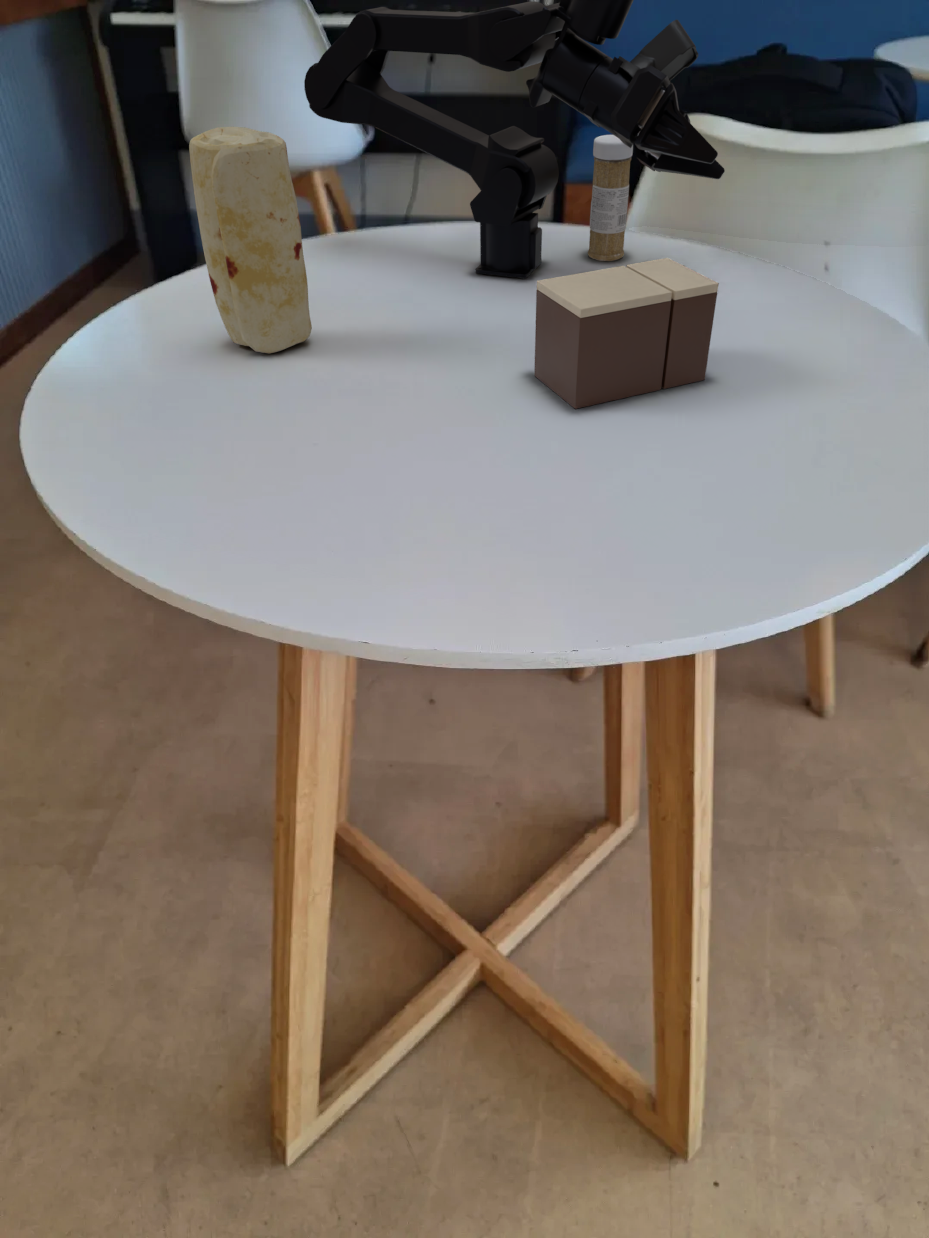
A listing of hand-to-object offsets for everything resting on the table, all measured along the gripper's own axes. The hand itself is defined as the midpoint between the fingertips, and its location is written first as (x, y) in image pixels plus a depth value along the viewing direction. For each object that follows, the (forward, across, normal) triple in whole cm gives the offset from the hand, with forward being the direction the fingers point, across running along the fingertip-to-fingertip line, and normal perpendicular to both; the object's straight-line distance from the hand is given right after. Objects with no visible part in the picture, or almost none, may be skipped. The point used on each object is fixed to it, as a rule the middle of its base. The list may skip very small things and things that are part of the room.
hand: (718, 167), depth 95 cm
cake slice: (+8, -13, +18) cm, 24 cm away
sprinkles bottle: (-8, +16, +14) cm, 23 cm away
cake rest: (+4, -18, +22) cm, 29 cm away
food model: (-26, -18, +38) cm, 50 cm away
